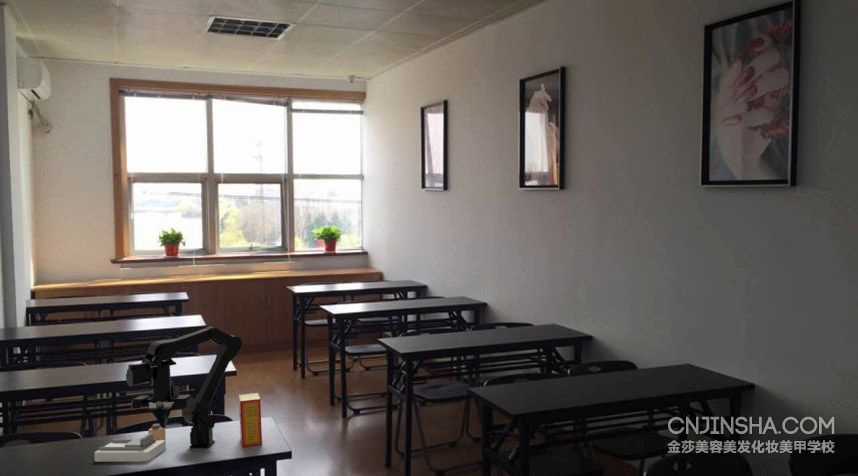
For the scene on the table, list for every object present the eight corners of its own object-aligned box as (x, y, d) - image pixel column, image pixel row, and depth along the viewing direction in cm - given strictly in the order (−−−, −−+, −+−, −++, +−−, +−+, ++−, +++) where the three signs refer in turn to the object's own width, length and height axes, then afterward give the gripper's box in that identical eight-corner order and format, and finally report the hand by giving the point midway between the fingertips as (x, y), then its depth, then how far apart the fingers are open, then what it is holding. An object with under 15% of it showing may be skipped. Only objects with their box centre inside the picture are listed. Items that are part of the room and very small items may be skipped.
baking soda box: (240, 439, 244) (238, 393, 244) (259, 437, 246) (257, 391, 246) (242, 447, 235) (240, 400, 235) (262, 445, 237) (260, 398, 237)
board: (166, 449, 237) (165, 437, 237) (148, 461, 225) (147, 449, 225) (115, 449, 238) (114, 437, 238) (94, 461, 226) (94, 449, 226)
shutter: (153, 442, 234) (153, 433, 234) (143, 448, 228) (143, 439, 228) (135, 442, 235) (134, 433, 235) (124, 448, 228) (124, 439, 228)
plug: (165, 443, 243) (164, 422, 243) (160, 447, 239) (159, 426, 239) (154, 443, 243) (153, 422, 243) (149, 447, 239) (148, 426, 239)
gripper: (199, 374, 237) (201, 420, 237) (146, 375, 239) (148, 420, 239) (184, 382, 226) (187, 430, 226) (129, 383, 228) (131, 430, 228)
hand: (163, 427), depth 230 cm, fingers closed
